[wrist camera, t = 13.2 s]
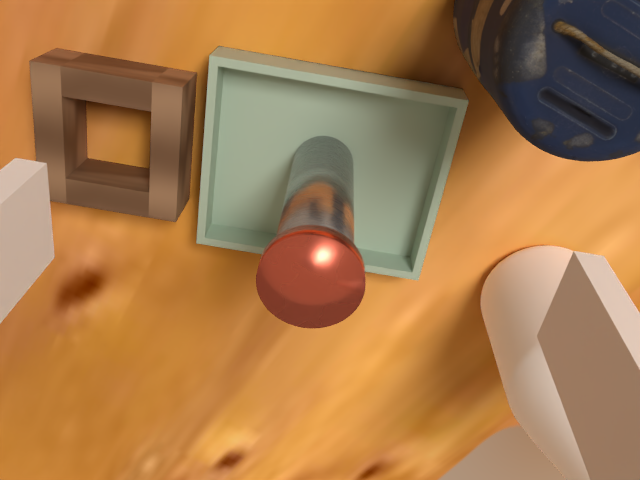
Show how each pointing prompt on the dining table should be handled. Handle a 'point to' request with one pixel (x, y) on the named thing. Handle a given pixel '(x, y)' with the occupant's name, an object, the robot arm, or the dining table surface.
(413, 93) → the tray
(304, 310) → the pin
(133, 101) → the socket block
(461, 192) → the dining table surface
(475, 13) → the canister
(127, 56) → the dining table surface
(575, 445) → the wine bottle
